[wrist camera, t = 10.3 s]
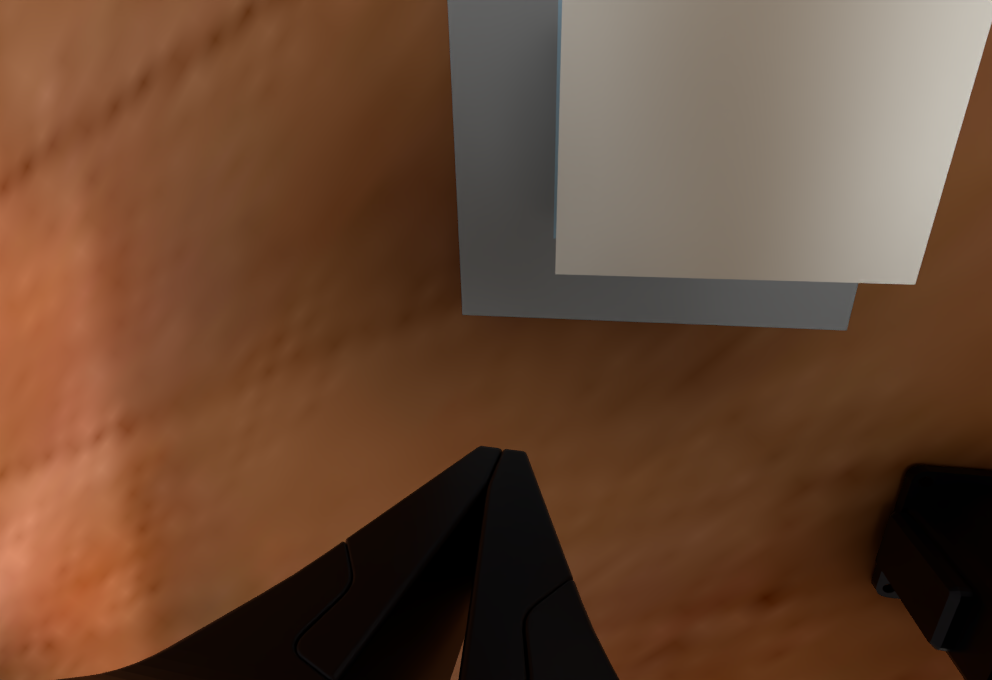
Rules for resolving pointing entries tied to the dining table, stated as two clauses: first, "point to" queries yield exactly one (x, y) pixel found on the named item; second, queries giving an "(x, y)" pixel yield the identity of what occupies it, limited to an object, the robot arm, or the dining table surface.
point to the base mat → (530, 198)
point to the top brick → (759, 135)
